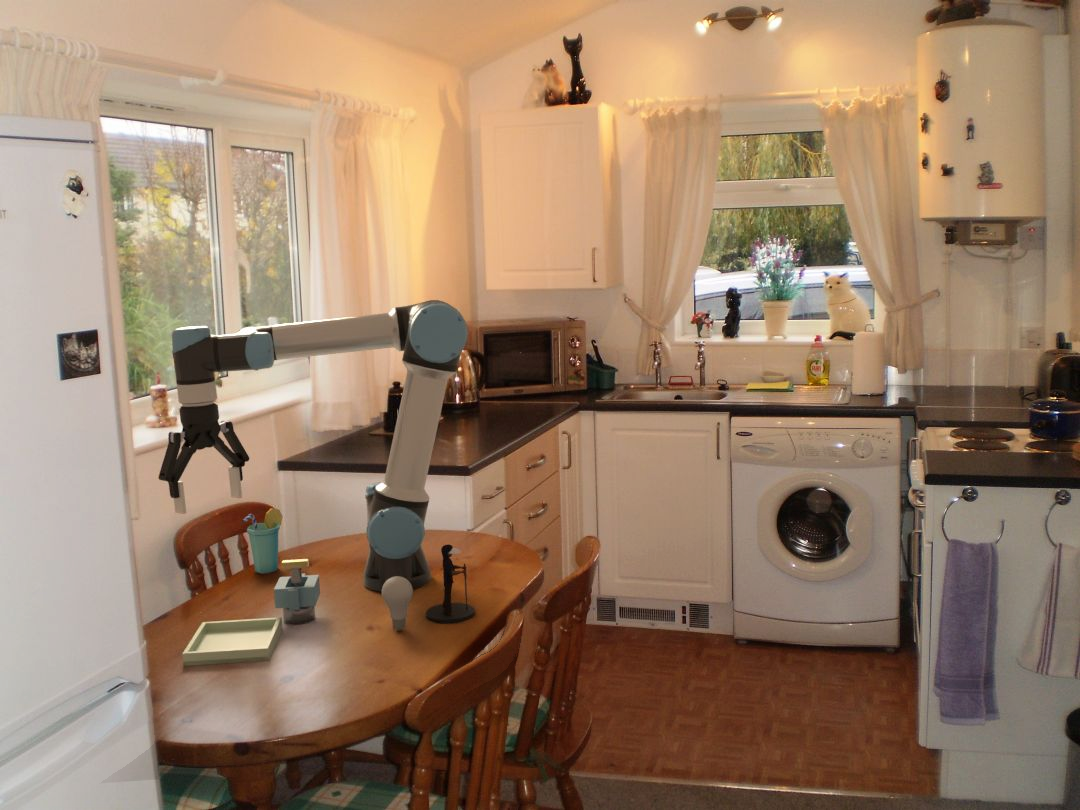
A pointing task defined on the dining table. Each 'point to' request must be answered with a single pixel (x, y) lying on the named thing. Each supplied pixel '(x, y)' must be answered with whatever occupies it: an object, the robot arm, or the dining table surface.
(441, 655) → the dining table surface
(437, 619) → the figurine
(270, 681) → the dining table surface
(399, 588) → the lightbulb
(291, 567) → the grey stamp
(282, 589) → the slotted blue block
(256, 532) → the cup
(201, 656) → the tray
